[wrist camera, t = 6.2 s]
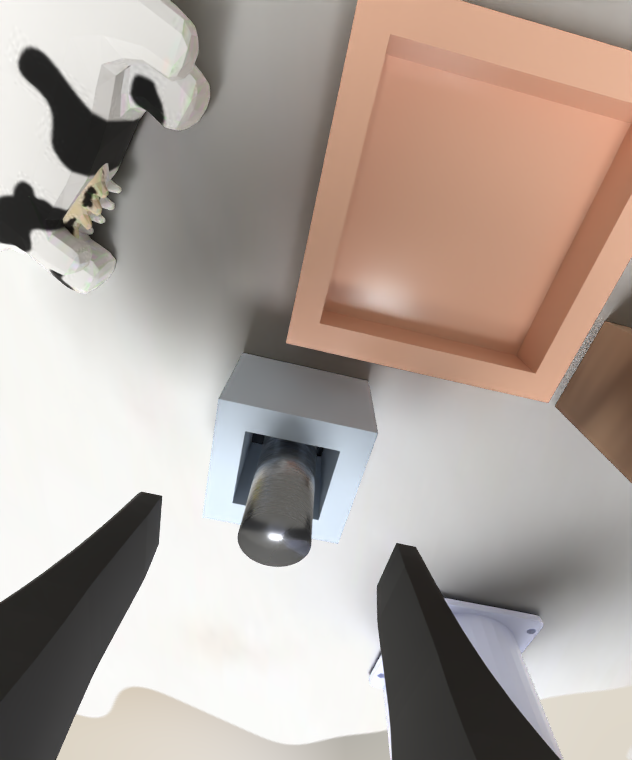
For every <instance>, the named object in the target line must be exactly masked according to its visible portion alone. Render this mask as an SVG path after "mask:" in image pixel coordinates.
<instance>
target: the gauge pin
mask: <svg viewBox="0 0 632 760" xmlns="http://www.w3.org/2000/svg"><path fill="white" fill-rule="evenodd" d="M316 458H317V446H313V445H308V444H304V443H299V442H294V441H290V440H285V439H280V438H275V437H271V436H266V435H265V437H264V441H263V444H262V448H261V452H260V455H259V459H258V463H257V466H256V470H255V474H254V477H253V481H252V485H251V488H250V492H249V496H248V500H247V503H246V507H245V511H244V514H243V518H242V522H241V525H240V529H239V533H238V543H239V546H240V548H241V550H242V551H243V552H244V553H245V554H246V555H247V556H248V557H249V558H250V559H252V560H254V561H256V562H258V563H260V564H263V565H267V566H275V567H281V566H288V565H292V564H295V563H297V562H299V561H300V560H302V559H303V558H304V557H305V556H306V555H307V554H308V552H309V550H310V548H311V539H312V523H313V507H314V491H315V475H316Z"/></svg>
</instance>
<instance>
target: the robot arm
mask: <svg viewBox="0 0 632 760" xmlns="http://www.w3.org/2000/svg"><path fill="white" fill-rule="evenodd" d="M161 505H162V496H160V495H155V494H150V493H145V492H140V493H139V494H137V495H136V496H135V497H134V498H133V499H132V500H131V501H130V502H129V503H128V504H126V505H125V506H124V507H123V508H122V509H121V510H120V511H119V512H118V513H117V514H115V515H114V516H113V517H112V518H111V519H110V520H109V521H107V522H106V523H105V524H104V525H103V526H102V527H101V528H99V529H98V530H97V531H96V532H95V533H93V534H92V535H91V536H90V537H89V538H87V539H86V540H85V541H84V542H83V543H81V544H80V545H79V546H78V547H76V548H75V549H74V550H73V551H71V552H70V553H69V554H67V555H66V556H65V557H63V558H62V559H61V560H60V561H58V562H57V563H56V564H54V565H53V566H52V567H50V568H49V569H48V570H46V571H45V572H44V573H42V574H41V575H40V576H38V577H37V578H35V579H34V580H33V581H31V582H30V583H28V584H27V585H25V586H24V587H22V588H21V589H20V590H18V591H17V592H15V593H14V594H12V595H11V596H9V597H8V598H6V599H5V600H3V601H2V602H0V760H56V758H57V756H58V754H59V751H60V749H61V747H62V744H63V742H64V740H65V738H66V735H67V733H68V730H69V728H70V726H71V723H72V721H73V719H74V717H75V714H76V712H77V710H78V708H79V705H80V703H81V701H82V699H83V696H84V694H85V692H86V690H87V687H88V685H89V683H90V681H91V678H92V676H93V674H94V672H95V670H96V668H97V666H98V664H99V662H100V660H101V658H102V656H103V655H104V653H105V651H106V649H107V647H108V645H109V643H110V642H111V640H112V638H113V636H114V634H115V632H116V631H117V629H118V627H119V625H120V623H121V621H122V619H123V618H124V616H125V614H126V612H127V610H128V608H129V607H130V605H131V603H132V601H133V599H134V597H135V595H136V593H137V592H138V590H139V588H140V586H141V584H142V582H143V580H144V578H145V576H146V574H147V571H148V569H149V567H150V564H151V562H152V559H153V557H154V554H155V552H156V549H157V547H158V544H159V532H160V519H161ZM377 620H378V630H379V639H380V647H381V656H380V657H379V659H378V661H377V663H376V665H375V667H374V669H373V671H372V673H371V675H370V676H369V683H370V685H371V686H372V687H376V688H381V689H384V699H385V709H386V719H387V729H388V739H389V749H390V759H391V760H564V759H563V757H562V754H561V752H560V749H559V747H558V744H557V742H556V739H555V737H554V734H553V732H552V730H551V727H550V724H549V722H548V720H547V717H546V715H545V712H544V709H543V707H542V705H541V702H540V699H539V697H538V694H537V692H536V689H535V687H534V684H533V682H532V679H531V677H530V674H529V672H528V669H527V667H526V664H525V662H524V659H523V657H522V655H521V654H522V653H523V651H524V650H525V649H526V648H527V646H528V645H529V644H530V643H531V641H532V640H533V639H534V638H535V636H536V635H537V634H538V633H539V631H540V630H541V629H542V628H543V625H544V624H543V621H542V619H541V618H540V617H539V616H537V615H533V614H528V613H522V612H517V611H512V610H507V609H501V608H496V607H491V606H485V605H480V604H475V603H470V602H464V601H459V600H454V599H448V598H444V597H443V596H442V594H441V592H440V590H439V588H438V587H437V585H436V583H435V581H434V579H433V578H432V576H431V574H430V572H429V570H428V568H427V567H426V565H425V563H424V561H423V559H422V557H421V555H420V554H419V552H418V550H417V548H416V547H413V546H408V545H403V544H399V543H396V545H395V548H394V550H393V552H392V554H391V556H390V559H389V561H388V563H387V565H386V567H385V570H384V572H383V574H382V576H381V578H380V581H379V583H378V585H377Z"/></svg>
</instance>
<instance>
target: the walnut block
mask: <svg viewBox="0 0 632 760" xmlns="http://www.w3.org/2000/svg"><path fill="white" fill-rule="evenodd" d="M555 407H556V408H557V409H558V410H559V411H560V412H561V413H562V414H563V415H564V416H565V417H566V418H567V419H568V420H569V421H570V422H571V423H572V424H573V425H574V426H575V427H576V428H577V429H578V430H579V431H580V432H581V433H582V434H583V435H584V436H585V437H586V438H587V439H588V440H589V441H590V442H591V443H592V444H593V445H594V446H595V447H596V448H597V449H598V450H599V451H600V452H601V453H602V454H603V455H604V456H605V457H606V458H607V459H608V460H609V461H610V462H611V463H612V464H613V465H614V466H615V467H616V468H617V469H618V470H619V471H620V472H621V473H622V474H623V475H624V476H625V477H626V478H627V479H628V480H629V481H630V482H631V483H632V328H631V327H627V326H623V325H619V324H615V323H611V322H607V321H605V322H604V323H603V325H602V327H601V329H600V330H599V332H598V334H597V335H596V337H595V339H594V340H593V342H592V344H591V346H590V347H589V349H588V351H587V352H586V354H585V356H584V357H583V359H582V361H581V363H580V364H579V366H578V368H577V369H576V371H575V373H574V375H573V376H572V378H571V380H570V381H569V383H568V385H567V386H566V388H565V390H564V392H563V393H562V395H561V397H560V398H559V400H558V402H557V403H556V405H555Z"/></svg>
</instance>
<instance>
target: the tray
mask: <svg viewBox="0 0 632 760" xmlns="http://www.w3.org/2000/svg"><path fill="white" fill-rule="evenodd" d="M631 257H632V51H630V50H627V49H623V48H620V47H617V46H613V45H610V44H606V43H603V42H600V41H596V40H593V39H590V38H586V37H583V36H579V35H576V34H573V33H569V32H566V31H563V30H559V29H556V28H552V27H549V26H546V25H542V24H539V23H535V22H532V21H529V20H525V19H522V18H519V17H515V16H512V15H508V14H505V13H502V12H498V11H495V10H492V9H488V8H485V7H481V6H478V5H475V4H471V3H468V2H464V1H461V0H358V1H357V5H356V10H355V15H354V20H353V25H352V29H351V34H350V39H349V44H348V48H347V53H346V58H345V63H344V68H343V72H342V77H341V82H340V87H339V91H338V96H337V101H336V106H335V111H334V115H333V120H332V125H331V130H330V135H329V139H328V144H327V149H326V154H325V158H324V163H323V168H322V173H321V178H320V182H319V187H318V192H317V197H316V201H315V206H314V211H313V216H312V221H311V225H310V230H309V235H308V240H307V245H306V249H305V254H304V259H303V264H302V268H301V273H300V278H299V283H298V288H297V292H296V297H295V302H294V307H293V311H292V316H291V321H290V326H289V331H288V335H287V340H286V343H287V344H292V345H296V346H300V347H305V348H309V349H314V350H318V351H322V352H327V353H331V354H336V355H340V356H344V357H349V358H353V359H358V360H362V361H366V362H371V363H375V364H379V365H384V366H388V367H393V368H397V369H401V370H406V371H410V372H415V373H419V374H423V375H428V376H432V377H437V378H441V379H445V380H450V381H454V382H458V383H463V384H467V385H472V386H476V387H480V388H485V389H489V390H494V391H498V392H502V393H507V394H511V395H516V396H520V397H524V398H529V399H533V400H537V401H542V402H546V403H549V401H550V399H551V397H552V396H553V394H554V392H555V390H556V389H557V387H558V385H559V383H560V382H561V380H562V378H563V376H564V375H565V373H566V371H567V369H568V368H569V366H570V364H571V362H572V361H573V359H574V357H575V355H576V354H577V352H578V350H579V348H580V347H581V345H582V343H583V341H584V340H585V338H586V336H587V334H588V333H589V331H590V329H591V327H592V326H593V324H594V322H595V320H596V319H597V317H598V315H599V313H600V312H601V310H602V308H603V306H604V305H605V303H606V301H607V299H608V298H609V296H610V294H611V292H612V291H613V289H614V287H615V285H616V284H617V282H618V280H619V278H620V277H621V275H622V273H623V271H624V270H625V268H626V266H627V264H628V263H629V261H630V259H631Z"/></svg>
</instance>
